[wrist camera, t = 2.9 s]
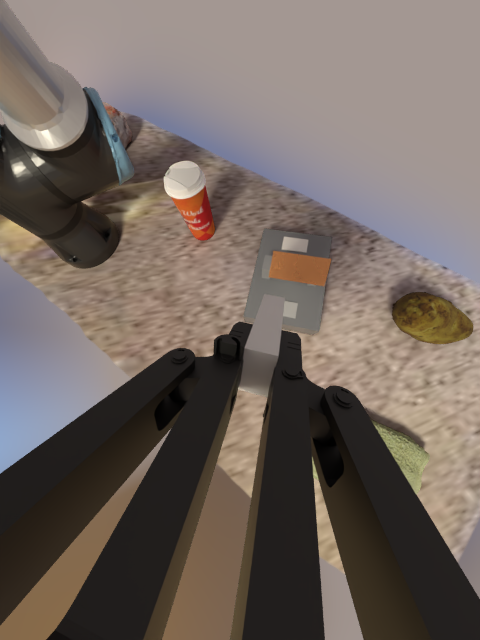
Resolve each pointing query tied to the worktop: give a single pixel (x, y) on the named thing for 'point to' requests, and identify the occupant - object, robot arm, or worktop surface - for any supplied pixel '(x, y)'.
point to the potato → (431, 319)
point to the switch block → (299, 297)
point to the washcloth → (402, 454)
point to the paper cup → (190, 197)
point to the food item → (119, 124)
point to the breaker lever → (299, 268)
